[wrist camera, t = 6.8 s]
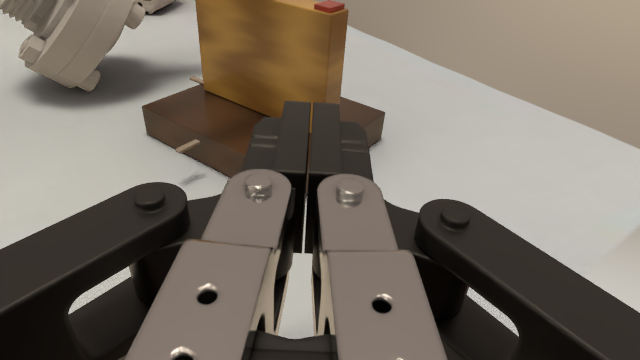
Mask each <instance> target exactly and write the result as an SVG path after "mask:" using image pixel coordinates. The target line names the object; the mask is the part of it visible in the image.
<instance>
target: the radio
mask: <svg viewBox="0 0 640 360" xmlns="http://www.w3.org/2000/svg"><path fill="white" fill-rule="evenodd" d="M173 1H175V0H134V2H135V3H137V4H138V5H140V6H141V7H142V8H144V9H145V11H148V13H149V14H152V13H153V12H154V11H156V10H158V9H160V8H162V7H164V6H166V5H168V4H172V2H173Z"/></svg>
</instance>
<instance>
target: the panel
mask: <svg viewBox="0 0 640 360" xmlns="http://www.w3.org/2000/svg"><path fill="white" fill-rule="evenodd" d="M190 80H192V81H195V82H197V83H200V85H197V86H195V87H192V88H189V89H187V90H184V91H181V92H179V93H176V94H173V95H171V96H168V97H165V98H163V99H160V100H157V101H155V102H152V103H149V104H147V105H144V106H142V110H143V115H144V121H145V126H146V131H147V134H148V135H150V136H152V137H154V138H156V139H158V140H160V141H162V142H164V143H166V144H168V145H170V146H171V147H173V148H175V149H176V152H178V153H182V152H183V153H185V154H187V155H189V156H191V157H193V158H195V159H196V160H198V161H200V162H202V163H204V164H206V165H208V166H210V167H212V168H214V169H216V170H218V171H220V172H221V173H223V174H225V175H227V176H229V177H233V176H234V175H236V174H238V173H240V172H241V170H242V166H243V163H244V159H245V156H246V153H247V149H248V146H249V142H250V139H251V135H252V132H253V129H254V125H255V124H257V123H258V122H259V121H260V120H262V119H263V118H264V117H269V116H267V115H265V114H262V113H260V112H257V111H255V110H252V109H250V108H247V107H245V106H243V105H240V104H238V103H235V102H233V101H230V100H228V99H226V98H223V97H221V96H218V95H216V94H213V93H211V92H209V91H206V90H204V85H203V80H202V79H199V78H197V77H194V76H193V77H190ZM339 107H340V121H345V122H358V124H359V125H360V126H361V127H362V128H363V129H364V130H365V131H366V134H367V141H368V147H370V146H371V145H373V144H374V143H375V142H377V141H378V140H379V139H381V135H382V129H383V122H384V116H385V112H383V111H380V110H377V109H374V108H372V107H369V106H366V105H363V104H360V103H357V102H354V101H352V100H349V99H346V98H343V97H340V104H339ZM310 145H311V133H309V152H308V169H307V184H306V195H307V194H308V177H309V161H310Z"/></svg>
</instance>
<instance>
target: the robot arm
mask: <svg viewBox="0 0 640 360" xmlns="http://www.w3.org/2000/svg"><path fill="white" fill-rule="evenodd" d="M310 113H311V102H302V101H285V102H284V107H283V112H282V117H281V118H277V117H264V118H263V119H262V120H260V121H259V122H258V123H257V124H255V125H254V129H253V132H252V135H251V139H250V142H249V146H248V149H247V153H246V156H245V159H244V163H243V166H242V170H241V172H240V173H238V174H236V175H234V176H233V177H231V178H230V179H229V180H228V182H227V184H226V186H225V188H224V190H223V192H222V194H219V195H216V196H213V197H208V198H202V199H196V200H189V201H187V196H186V194H185V192H184V191H183V190H182V189H181V188H180V187H178V186H176V185H173V184H169V183H163V182H153V183H146V184H141V185H138V186H135V187H133V188H130V189H128V190H126V191H124V192H122V193H120V194H117V195H115V196H113V197H111V198H109V199H107V200H105V201H103V202H100V203H98V204H96V205H94V206H92V207H90V208H88V209H86V210H83V211H81V212H79V213H77V214H75V215H73V216H71V217H68V218H66V219H64V220H62V221H60V222H58V223H56V224H54V225H51V226H49V227H47V228H45V229H43V230H41V231H39V232H37V233H34V234H32V235H30V236H28V237H26V238H24V239H22V240H20V241H17V242H15V243H13V244H11V245H9V246H7V247H5V248H2V249H0V360H640V313H639V312H637V311H636V310H634V309H633V308H631V307H629V306H628V305H626V304H625V303H623V302H622V301H620V300H618V299H617V298H615V297H614V296H612V295H611V294H609V293H607V292H606V291H604V290H603V289H601V288H600V287H598V286H596V285H595V284H593V283H592V282H590V281H589V280H587V279H585V278H584V277H582V276H581V275H579V274H578V273H576V272H574V271H573V270H571V269H570V268H568V267H567V266H565V265H563V264H562V263H560V262H559V261H557V260H556V259H554V258H552V257H551V256H549V255H548V254H546V253H545V252H543V251H541V250H540V249H538V248H537V247H535V246H534V245H532V244H530V243H529V242H527V241H526V240H524V239H523V238H521V237H519V236H518V235H516V234H515V233H513V232H512V231H510V230H508V229H507V228H505V227H504V226H502V225H501V224H499V223H497V222H496V221H494V220H493V219H491V218H490V217H488V216H486V215H485V214H483V213H482V212H480V211H479V210H477V209H475V208H474V207H472V206H470V205H468V204H466V203H463V202H460V201H456V200H449V199H438V200H433V201H430V202H428V203H426V204H424V205H423V206H422V208H421V209H420V212H419V213H417V212H414V211H410V210H406V209H403V208H400V207H397V206H395V205H392V204H391V203H389V202H387V201H386V200H384V199H383V195H382V192H381V190H380V188H379V187H378V186H377V185H376V184H375V183H374V181H373V175H372V168H371V161H370V154H369V147H368V141H367V134H366V131H365V130H364V129H363V128H362V127H361V126H360V125H359V124H358V122H345V121H340V107H339V104H336V103H319V102H313V115H312V130H311V145H310V161H309V177H308V196H307V215H306V234H305V253H311V254H313V259H312V277H311V286H312V304H313V322H314V336H313V337H308V338H302V339H288V338H284V337H281V336H278V331H279V326H280V321H281V316H282V311H283V306H284V301H285V296H286V291H287V286H288V281H289V270H290V268H291V265H292V258H293V253H302V241H303V227H304V213H305V198H306V184H307V169H308V152H309V132H310ZM128 266H129V269H130V272H131V277H129V278H128V279H126V280H125V281H123V282H121V283H120V284H118V285H116V286H115V287H113V288H112V289H110V290H108V291H107V292H105V293H103V294H102V295H100V296H99V297H97V298H95V299H94V300H92V301H90V302H89V303H87V304H86V305H84V306H82V307H81V308H79V309H77V310H76V311H74V312H73V313H71V314H69V315H68V312H69V309H70V307H71V305H72V303H73V302H74V301H75V300H76V299H77V298H78V297H79V296H80V295H81V294H83V293H84V292H86V291H87V290H89V289H91V288H93V287H94V286H96V285H98V284H99V283H101V282H103V281H104V280H106V279H108V278H109V277H111V276H113V275H114V274H116V273H118V272H119V271H121V270H123V269H124V268H126V267H128ZM469 287H471V288H472V289H473V290H474V291H476V292H477V293H478V294H480V295H481V296H482V297H483V298H485V299H486V300H487V301H489V302H490V303H491V304H492V305H494V306H495V307H496V308H498V309H499V310H500V311H501V312H503V313H504V314H505V315H506V316H508V317H509V318H510V319H511V320H512V322H513V323H514V324H515V326H516V328H517V330H518V333H519V337H518V336H517V335H516V334H515V333H513V332H512V331H511V330H510V329H508V328H507V327H506V326H505V325H503V324H502V323H501V322H500V321H498V320H497V319H496V318H495V317H493V316H492V315H491V314H490V313H488V312H487V311H486V310H485V309H483V308H482V307H481V306H480V305H478V304H477V303H476V302H474V301H473V300H472V299H471V298H469V297H468V296H467V295H466V294H467V291H468V289H469Z"/></svg>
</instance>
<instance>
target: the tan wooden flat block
mask: <svg viewBox="0 0 640 360" xmlns="http://www.w3.org/2000/svg"><path fill="white" fill-rule="evenodd" d="M195 1H196V12H197V22H198V32H199V43H200V53H201V64H202V74H203V85H204V90H206V91H209V92H211V93H213V94H216V95H218V96H221V97H223V98H226V99H228V100H230V101H233V102H235V103H238V104H240V105H243V106H245V107H247V108H250V109H252V110H255V111H257V112H260V113H262V114H265V115H267V116H269V117H277V118H281V117H282V112H283V107H284V102H285V101H302V102H311V113H310V132H309V133H311V130H312V115H313V102H319V103H336V104H340V94H341V83H342V72H343V62H344V51H345V41H346V30H347V20H348V9H345V8H344V4H343V3H338V2H334V1H330V0H328V1H324V2H321V3H319V2H316V1H312V0H195Z"/></svg>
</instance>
